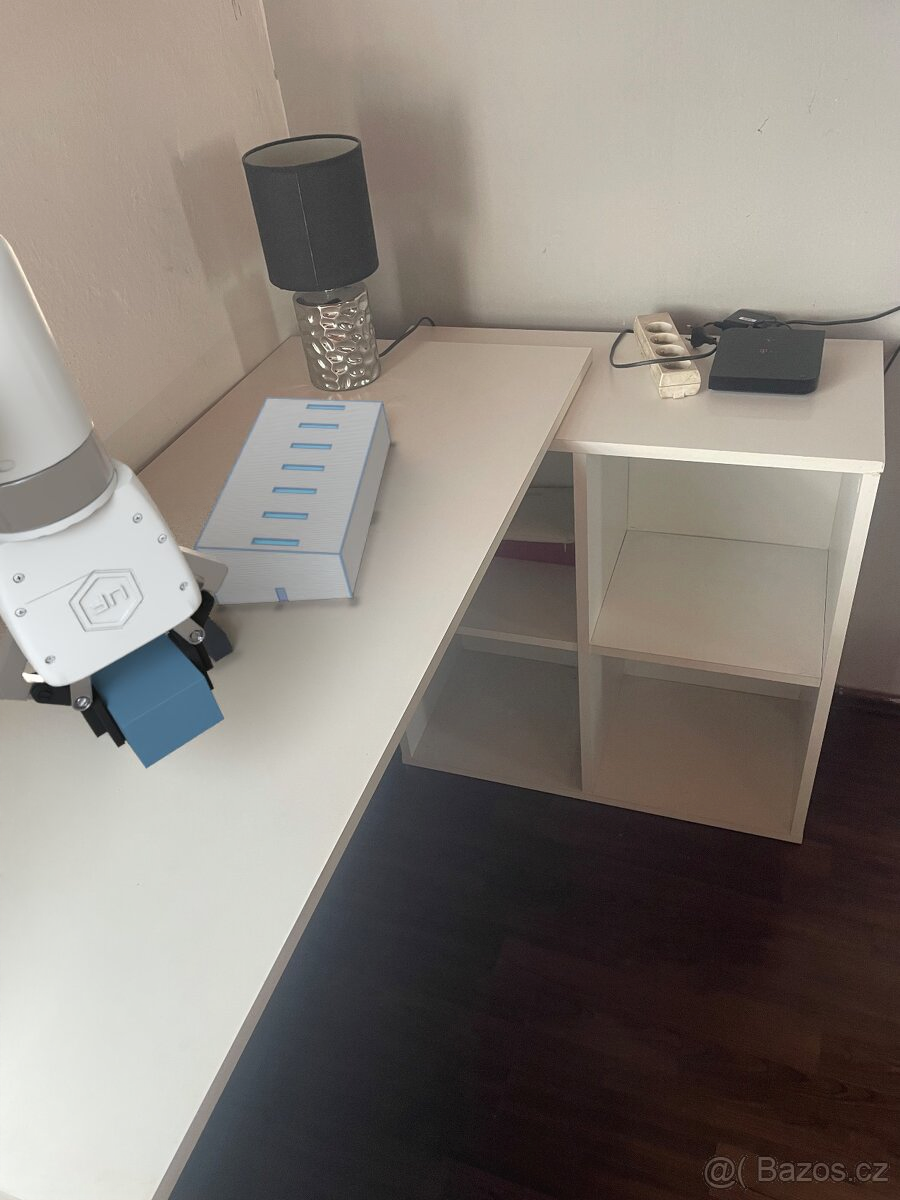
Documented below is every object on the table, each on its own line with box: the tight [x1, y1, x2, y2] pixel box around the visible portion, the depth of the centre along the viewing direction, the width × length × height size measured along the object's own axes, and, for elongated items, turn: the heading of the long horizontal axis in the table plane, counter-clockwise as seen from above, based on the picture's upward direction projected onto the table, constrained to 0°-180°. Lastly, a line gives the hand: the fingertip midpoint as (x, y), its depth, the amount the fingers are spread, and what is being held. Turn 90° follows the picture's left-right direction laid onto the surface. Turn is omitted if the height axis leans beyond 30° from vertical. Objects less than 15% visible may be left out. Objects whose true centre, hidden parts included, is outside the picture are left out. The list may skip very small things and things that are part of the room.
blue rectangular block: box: [91, 632, 225, 769], centre depth 56 cm, size 6×8×4 cm
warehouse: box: [193, 396, 392, 606], centre depth 97 cm, size 30×14×8 cm, turn 175°
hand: (157, 704), depth 57 cm, fingers closed on blue rectangular block, 5 cm apart
